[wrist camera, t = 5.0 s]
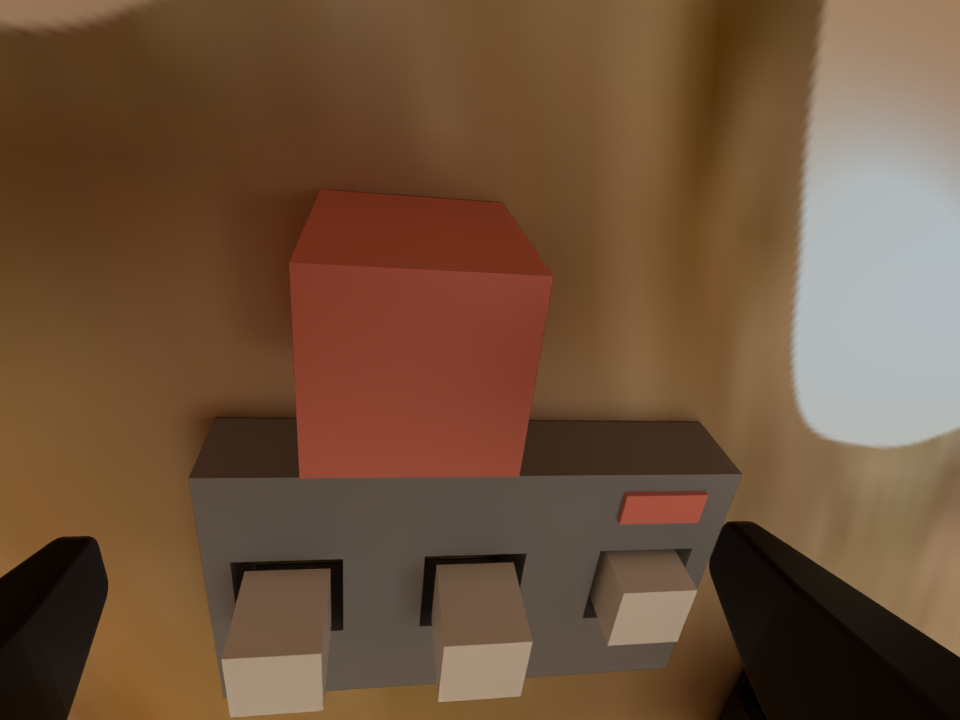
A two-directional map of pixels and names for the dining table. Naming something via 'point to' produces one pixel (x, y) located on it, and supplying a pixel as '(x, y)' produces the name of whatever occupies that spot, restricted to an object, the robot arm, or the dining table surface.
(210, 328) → the dining table surface
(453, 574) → the block
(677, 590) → the block
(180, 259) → the dining table surface
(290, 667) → the block
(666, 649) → the breaker panel
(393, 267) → the cap
